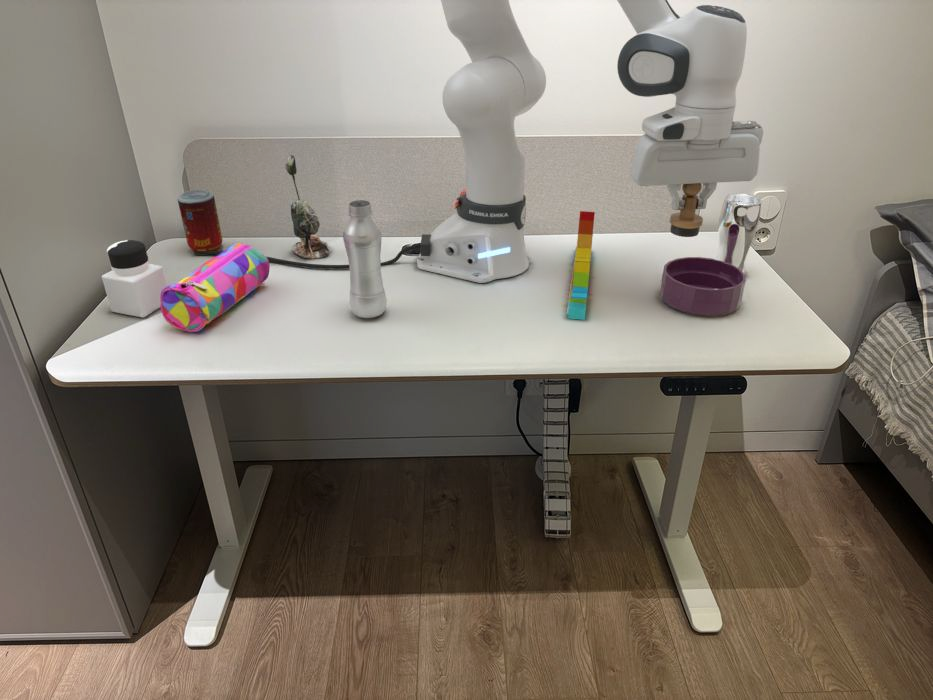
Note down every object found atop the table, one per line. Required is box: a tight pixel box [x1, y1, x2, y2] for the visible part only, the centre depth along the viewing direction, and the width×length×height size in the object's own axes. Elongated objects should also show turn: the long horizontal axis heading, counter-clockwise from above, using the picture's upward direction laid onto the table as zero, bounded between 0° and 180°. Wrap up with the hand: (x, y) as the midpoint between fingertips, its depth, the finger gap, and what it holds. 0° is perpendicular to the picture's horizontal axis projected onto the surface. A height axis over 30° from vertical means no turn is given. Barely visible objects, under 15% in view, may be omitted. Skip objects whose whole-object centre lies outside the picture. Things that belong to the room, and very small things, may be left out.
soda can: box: [177, 189, 223, 256], centre depth 144 cm, size 7×7×12 cm
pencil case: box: [160, 242, 271, 333], centre depth 122 cm, size 22×9×9 cm, turn 163°
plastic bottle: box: [342, 199, 388, 319], centre depth 117 cm, size 6×7×20 cm
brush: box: [669, 183, 704, 238], centre depth 115 cm, size 5×5×9 cm
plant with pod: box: [284, 154, 331, 260], centre depth 140 cm, size 8×11×20 cm
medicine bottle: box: [101, 239, 168, 319], centre depth 122 cm, size 7×7×12 cm
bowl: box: [659, 256, 747, 317], centre depth 125 cm, size 14×14×6 cm
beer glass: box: [715, 193, 763, 275], centre depth 133 cm, size 7×7×15 cm
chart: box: [566, 210, 596, 321], centre depth 129 cm, size 30×3×15 cm, turn 169°
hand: (687, 208), depth 115 cm, fingers closed on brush, 2 cm apart
